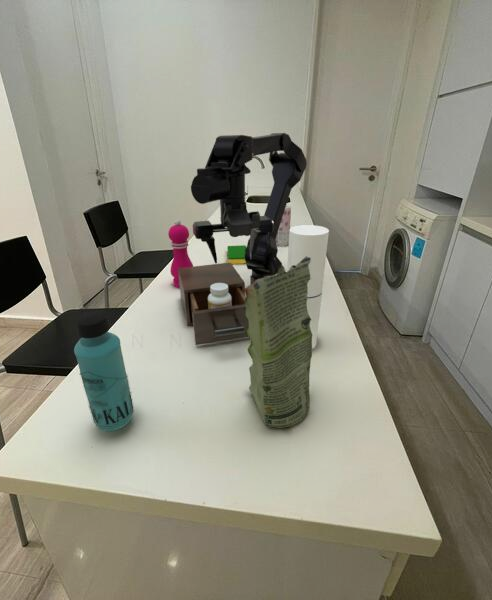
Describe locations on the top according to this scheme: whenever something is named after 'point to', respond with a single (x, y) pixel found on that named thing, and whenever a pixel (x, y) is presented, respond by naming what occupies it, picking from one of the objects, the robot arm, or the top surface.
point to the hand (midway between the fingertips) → (233, 261)
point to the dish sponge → (236, 254)
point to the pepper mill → (179, 249)
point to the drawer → (218, 318)
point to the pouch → (280, 344)
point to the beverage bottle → (103, 372)
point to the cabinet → (205, 281)
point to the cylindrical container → (310, 265)
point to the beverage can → (284, 228)
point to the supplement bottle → (219, 296)
